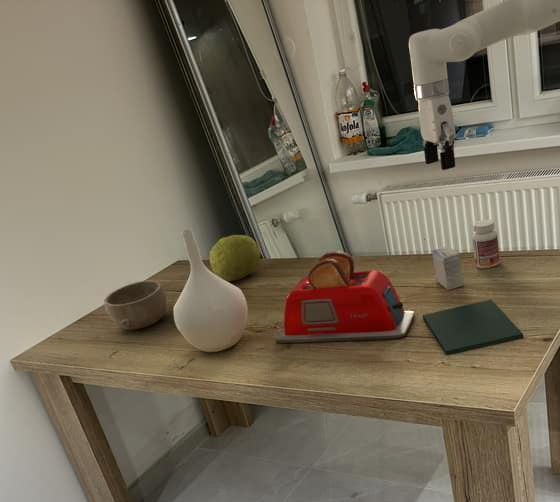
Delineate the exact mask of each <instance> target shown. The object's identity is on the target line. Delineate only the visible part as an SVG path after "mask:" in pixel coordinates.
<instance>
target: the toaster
mask: <svg viewBox="0 0 560 502" xmlns="http://www.w3.org/2000/svg"><path fill="white" fill-rule="evenodd" d="M415 316H416V312H415V311H413V310H404V303H403V302H401V300H400V298H399V296H398V294H397V291H396V289H395V287H394V285H393V284H392V282H391V280H390V278H389V277H388V275H386V274H385V273H383V271H381V270H362V271H355V261H354V258H353V257H352V255H350V254H349V253H346V252H344V251H330V252H326V253H324V254H323V255H321V256H320V257H319V259H318V262H316V264H315V265H313V267H312V268H311V269H310V270H309V273H308V275H307V276H303V277H302V278H301V279H300V280H299V281H298V283H297V284H295V286H294V287H293V289H292V290H291V291H290V293H288V295H287V296H286V297H285V304H284V313H283V320H284V321H283V327H282V329H281V331H280V332H279V333H278V334H277V335H276V336H275V342H277V343H279V344H297V343H326V342H327V343H328V342H354V341H377V340H378V341H379V340H380V341H381V340H396V339H398V340H399V339H402V338H405V336H406V335H407V333H408V331H409V329H410V326H411V325H412V322H413V321H414V319H415Z"/></svg>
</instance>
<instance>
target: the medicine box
mask: <svg viewBox="0 0 560 502" xmlns="http://www.w3.org/2000/svg"><path fill="white" fill-rule="evenodd" d="M431 253H432V262H433V268H434V269H433V270H434V276H435V282H437V283H439V285H441V286H442V287H443V288H444V289H446V290H447V291H450V290H454V289H457V288H461V287H463V286H464V276H463V269H462V261H461V255H460V253H459V252H457V250H454V249H453V248H451V247H450V246H448V245H446V246H442V247H438V248H435V249H433V250H432V251H431Z"/></svg>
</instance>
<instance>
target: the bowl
mask: <svg viewBox="0 0 560 502" xmlns="http://www.w3.org/2000/svg"><path fill="white" fill-rule="evenodd" d="M103 305H104V308H105V311H106V312H107V315H108V316H109V317H110V319H111V321H112V322H113V323H114V324H115V325H116V326H118V328H121V329H123V330H127V331H133V330H140V329H144V328H147V327H150V326H152V325H154V324H155V323H157V322H158V321H160V320H161V318H162V317H163V316H164V315H165V313H166V312H167V297H166V292H165V290H164V288H163V286H162V284H161V283H160V282H159V281H156V280H140V281H136V282H133V283H129V284H126V285H124V286H121V287H119V288H117V289H115V290H113V291H112V292H110V293H109V294H108V295H106V296H105V298H104V299H103Z"/></svg>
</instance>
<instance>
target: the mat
mask: <svg viewBox="0 0 560 502" xmlns="http://www.w3.org/2000/svg"><path fill="white" fill-rule="evenodd" d="M422 319H423V321H424V323H425V324H426V326H427V327H428V329H429V331H430V332H431V333H432V335H433V337H434V338H435V340H436V341H437V343H438V344H439V346H440V348H441V349H442V350H443V353H444V354H445V355H446V356H449V355H453V354H457V353H463V352H466V351H471V350H476V349H480V348H484V347H488V346H494V345H497V344H502V343H506V342H511V341H514V340H519V339H523V338H524V333H523V332H522V330H520V329H519V327H517V325H515V323H514V322H513V321H512V320H511V319H510V318H509V317H508V316H507V315H506V314H505V313H504V312H503V310H502V309H500V307H499V306H498V305H497V304H496V303H495V302H494V300H492V299H486V300H482V301H478V302H474V303H470V304H465V305H460V306H456V307H452V308H447V309H443V310H439V311H435V312H430V313H426V314H422Z"/></svg>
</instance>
